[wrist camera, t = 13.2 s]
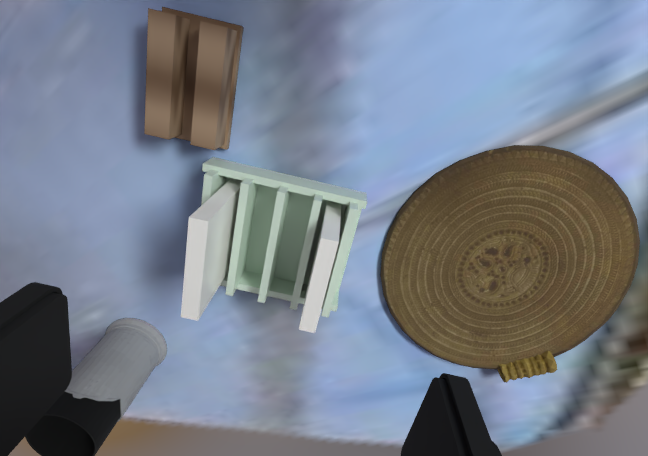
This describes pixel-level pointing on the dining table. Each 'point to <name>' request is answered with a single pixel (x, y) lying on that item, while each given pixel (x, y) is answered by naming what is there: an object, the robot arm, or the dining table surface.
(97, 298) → the dining table surface
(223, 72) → the stand
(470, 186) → the decorative disc
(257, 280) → the rack
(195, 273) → the tall white panel
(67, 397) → the grey black mug
